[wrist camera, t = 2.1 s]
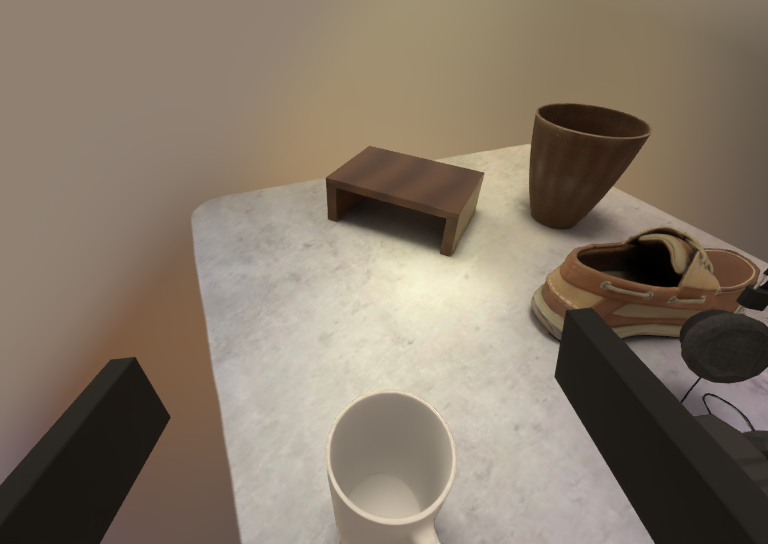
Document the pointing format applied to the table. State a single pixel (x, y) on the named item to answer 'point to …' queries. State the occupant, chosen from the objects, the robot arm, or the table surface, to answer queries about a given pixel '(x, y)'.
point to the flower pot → (578, 158)
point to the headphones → (729, 347)
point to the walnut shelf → (407, 188)
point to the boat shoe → (644, 283)
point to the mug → (389, 469)
